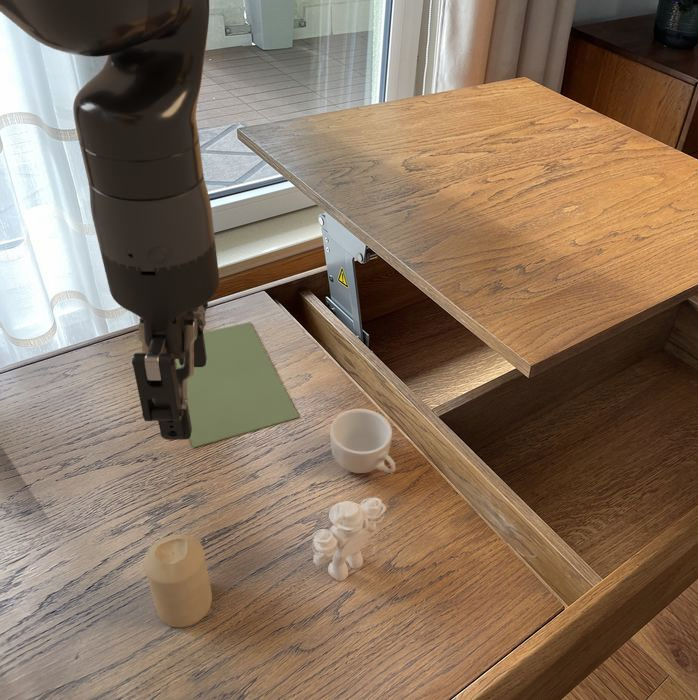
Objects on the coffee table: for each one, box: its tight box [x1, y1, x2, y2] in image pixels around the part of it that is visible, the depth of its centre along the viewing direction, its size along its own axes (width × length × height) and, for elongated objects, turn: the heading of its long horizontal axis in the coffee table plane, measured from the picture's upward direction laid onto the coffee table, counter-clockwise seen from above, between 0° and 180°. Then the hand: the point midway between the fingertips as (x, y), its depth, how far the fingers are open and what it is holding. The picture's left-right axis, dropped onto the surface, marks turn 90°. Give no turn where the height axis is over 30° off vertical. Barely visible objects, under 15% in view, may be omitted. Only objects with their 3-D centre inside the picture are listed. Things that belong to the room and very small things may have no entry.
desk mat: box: [175, 321, 300, 449], centre depth 101 cm, size 14×22×1 cm, turn 30°
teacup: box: [329, 408, 396, 474], centre depth 91 cm, size 10×8×5 cm
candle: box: [143, 533, 213, 628], centre depth 72 cm, size 6×6×10 cm
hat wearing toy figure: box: [311, 495, 387, 582], centre depth 77 cm, size 9×4×12 cm, turn 135°
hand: (186, 398), depth 60 cm, fingers open, 8 cm apart
